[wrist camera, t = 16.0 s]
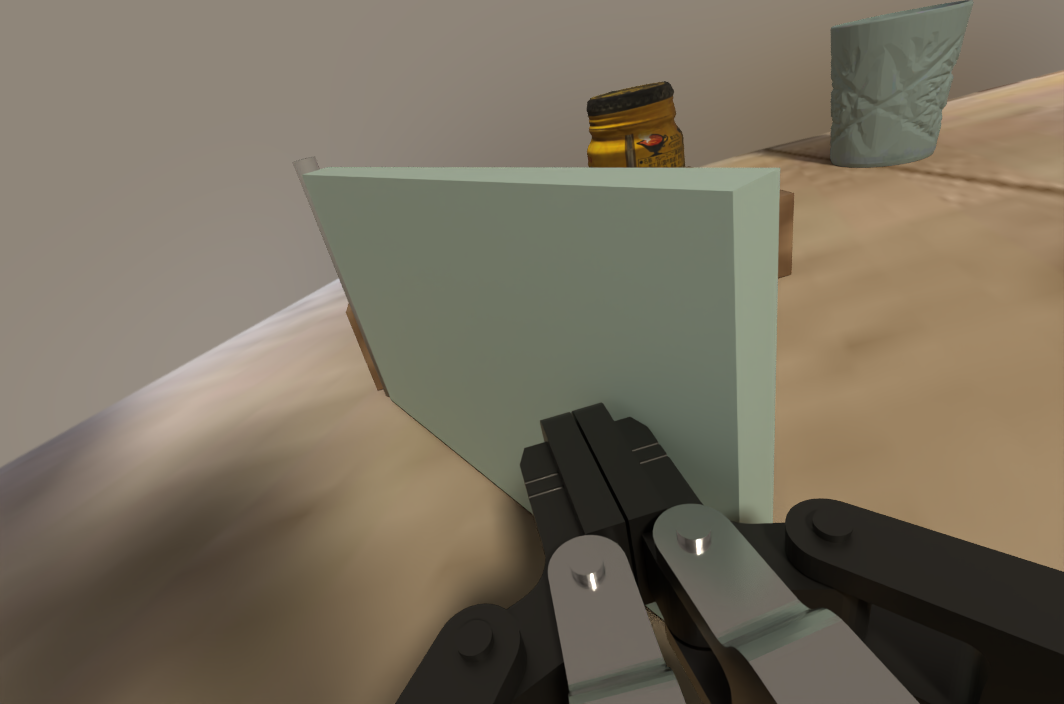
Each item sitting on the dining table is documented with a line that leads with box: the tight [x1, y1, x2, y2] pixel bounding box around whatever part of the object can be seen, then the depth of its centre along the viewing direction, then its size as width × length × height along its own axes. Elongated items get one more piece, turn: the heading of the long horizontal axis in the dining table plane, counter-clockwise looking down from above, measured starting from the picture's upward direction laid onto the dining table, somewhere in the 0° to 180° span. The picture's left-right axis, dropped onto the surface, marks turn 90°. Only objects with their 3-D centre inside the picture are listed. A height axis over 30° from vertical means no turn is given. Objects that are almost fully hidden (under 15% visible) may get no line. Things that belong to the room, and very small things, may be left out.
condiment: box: [587, 81, 685, 168], centre depth 35 cm, size 7×8×12 cm
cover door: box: [293, 157, 780, 620], centre depth 19 cm, size 22×1×13 cm, turn 38°
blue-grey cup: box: [830, 0, 973, 168], centre depth 48 cm, size 10×10×12 cm
